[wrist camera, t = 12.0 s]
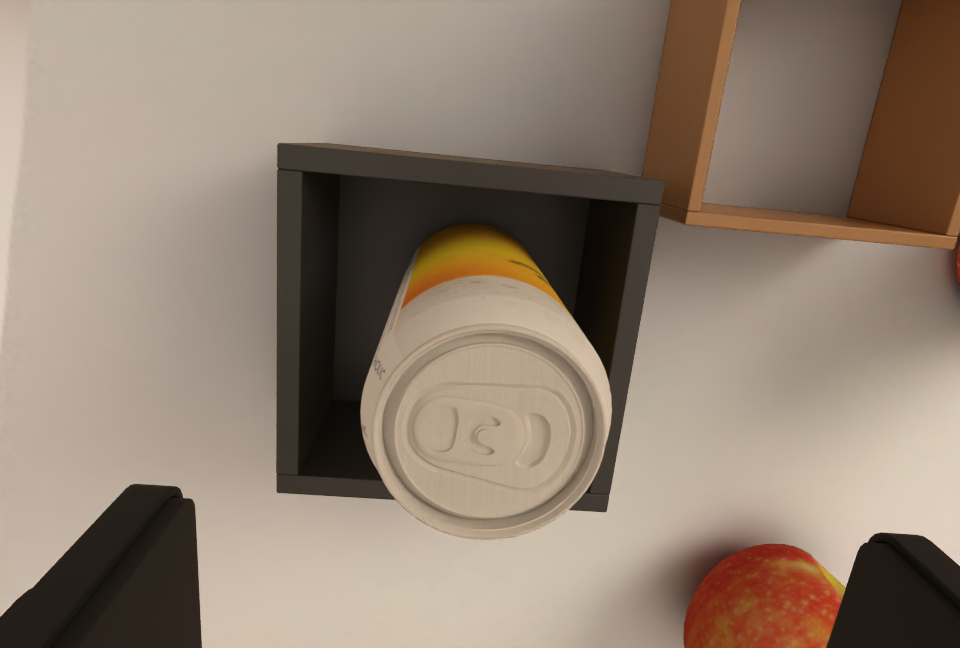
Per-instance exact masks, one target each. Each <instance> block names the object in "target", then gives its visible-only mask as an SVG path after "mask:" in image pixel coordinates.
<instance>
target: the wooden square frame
mask: <svg viewBox="0 0 960 648" xmlns="http://www.w3.org/2000/svg"><path fill="white" fill-rule="evenodd" d="M740 4H741V0H671V6H670V12H669V18H668V24H667V30H666V36H665V42H664V48H663V54H662V60H661V66H660V72H659V78H658V84H657V90H656V96H655V102H654V108H653V114H652V120H651V126H650V132H649V138H648V144H647V150H646V156H645V162H644V168H643V174H642V177H644V178H650V179H655V180H661V181H664V182H665V183H664V189H663V195H662V200H661V205H659V206H660V212H659V216H662V217H664V218H667V219H670V220H673V221H676V222H679V223H682V224H684V225H692V226H703V227H714V228H724V229H735V230H746V231H756V232H767V233H778V234H789V235H799V236H810V237H821V238H831V239H842V240H853V241H864V242H874V243H885V244H896V245H906V246H917V247H928V248H939V249H949V250H953V249H954V248H955V245H956V242H957V237H956V236H958V235H959V232H960V0H904V1H903V4H902V8H901V12H900V16H899V20H898V23H897V27H896V31H895V35H894V39H893V43H892V46H891V50H890V54H889V58H888V62H887V65H886V69H885V73H884V77H883V81H882V85H881V88H880V92H879V96H878V100H877V104H876V107H875V111H874V115H873V119H872V123H871V126H870V130H869V134H868V138H867V142H866V146H865V149H864V153H863V157H862V161H861V165H860V168H859V172H858V176H857V180H856V184H855V187H854V191H853V195H852V199H851V203H850V207H849V210H848V214H847V217H841V216H831V215H820V214H810V213H799V212H789V211H779V210H768V209H758V208H747V207H737V206H726V205H716V204H706V203H702V199H703V194H704V189H705V183H706V178H707V173H708V168H709V163H710V158H711V153H712V148H713V142H714V137H715V132H716V127H717V122H718V117H719V112H720V106H721V101H722V96H723V91H724V86H725V81H726V76H727V71H728V65H729V60H730V55H731V50H732V45H733V40H734V35H735V30H736V24H737V19H738V14H739V9H740Z"/></svg>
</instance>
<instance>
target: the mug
mask: <svg viewBox="0 0 960 648" xmlns="http://www.w3.org/2000/svg"><path fill="white" fill-rule="evenodd" d="M957 270H958V278H959V283H960V246H959V250H958V259H957Z"/></svg>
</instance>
